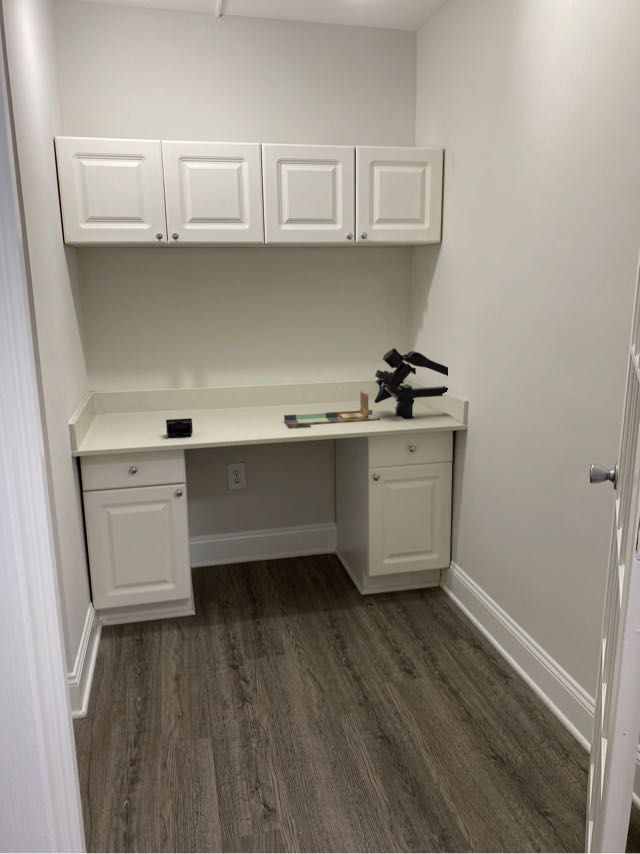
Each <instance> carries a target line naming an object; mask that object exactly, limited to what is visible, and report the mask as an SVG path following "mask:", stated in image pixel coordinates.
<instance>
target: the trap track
mask: <svg viewBox="0 0 640 854" xmlns="http://www.w3.org/2000/svg"><path fill="white" fill-rule="evenodd" d="M350 413H360V409H359V410H346V411H342V410H341V411H328V412H327V411H326V412H313V413H296V414H295V413H293V414H284V415H283V420H284V423H285V425H286V426H287V428H288V429H289V424H291V423H306V422H321V421H337V420H341V419H340V418H339V414H350ZM368 418H377V417H376V416H375V415H374V413H373V409H368Z"/></svg>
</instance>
